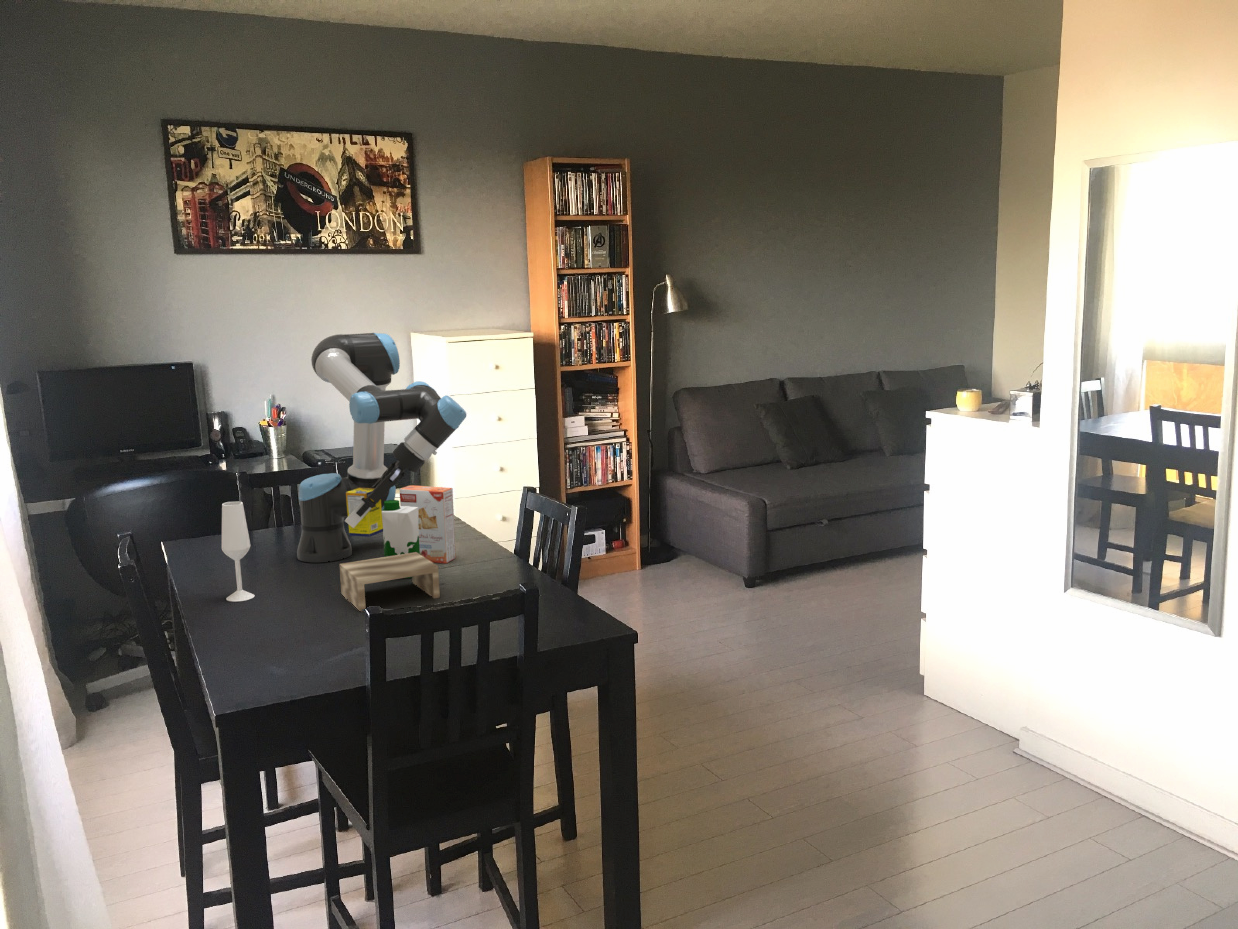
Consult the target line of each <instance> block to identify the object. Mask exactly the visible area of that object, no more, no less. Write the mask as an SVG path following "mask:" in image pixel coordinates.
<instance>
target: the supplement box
mask: <svg viewBox="0 0 1238 929" xmlns="http://www.w3.org/2000/svg"><path fill="white" fill-rule="evenodd" d="M374 489H375V488H357V489H354V490H351V491H348V492H346V501H347V513H348V516H349V515H350V514H351V513H352V512H353V511H354V510H355V509H356V508H357V507H358V505H359V504H360V503H361V502H362V500H361V499H362V498H367V497H368V496H369V494H370V493H371V492H372V491H373V490H374ZM371 500H372V499H371ZM372 501H373V500H372ZM373 502H374V501H373ZM348 533H349V537H351V536H352V537H364V538H371V537H373V536H376V535H378V534H381V533H383V521H382V508H381V499H380V500H379V502H378V503H377V504H376V506H375V507H373V508H372V509H371V510H370V511H369V512H368V513H367V514H366V515H365V516H364V517H363V518H362V519H361V521H360V522H359V523H358V524H357V525H356V526H355V527H354V528H352V527H351V526H350V525H349V524H348Z"/></svg>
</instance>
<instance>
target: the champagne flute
mask: <svg viewBox="0 0 1238 929" xmlns="http://www.w3.org/2000/svg"><path fill="white" fill-rule="evenodd" d="M246 518H247V517H246V512H245V508H244V503H243V502H242V501H227V502H223V503H222V504H221V550H222V552H223V553H224V554H225V555H226V556H227V557H228V558H229V559H231V560H233V561H234V566H235V567H234V569H235V579H236V587H237V588H236V591H234V592H233V593H232V594H230V595H228V596H227V597H226V601H228V602H243V601H248V600H251V599H253V598H254V597H255V594H254V593H251V592H250V591H246V590H244V589H243V582H242V581H243V580H242V571H241V570H242V569H241V559H243V558H244V557H245V556H246V555H247V553H248V552H249V551H250V550H251V541H250V540H251V539H250V535H249V530H248V524H247V519H246Z"/></svg>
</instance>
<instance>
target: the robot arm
mask: <svg viewBox="0 0 1238 929" xmlns="http://www.w3.org/2000/svg"><path fill="white" fill-rule="evenodd" d="M310 361H311V367H312V369H313V371H314V373H315V374H316V376H317V377H318V378H319V379H321V380H322V381H324V382H326V383H330V384H331V386H333V388H335V389H336V390H337V391H338V392H339V393H340V394H341V395H342V396H343V397H344V398H345V399H346V400H347V401H348V402H349V405H348V406H349V413H350V416H351V420H353V444H352V446H353V447H352V448H353V451H352V452H353V453H352V455H353V456H352V460H353V461H352V465H350V466H349V467H348V468H347V476H346V477H342V476H341V475H340V473H336V472H335V473H334V472H331V473H322V474H317V475H314V476H310V477H308V478H306V479H304V480H302V481H301V482H300V483H299V488H298V492H299V493H298V494H299V495H298V500H299V508H300V521H301V524H300V525H301V533H300V534H301V535H300V539H299V542H298V546H297V549H296V556H297V558H296V559H298V561H300V562H304V563H329V562H328V561H330V562H335V561H336V562H337V561H340V560H344V559H346V558H349V557H350V556H352V554H353V551H352V550H353V549H352V548H353V547H352V544H351V542H350V539H349V537H348V534H347V533H346V530H345V524H344V522H345V523H347V524H348V526H349V525H350V526H351V527H352V528H354V527H355V526H356V525H357V524H358V523H359V522H360V521H361V519H362V518H363V517H364V516H365V515H366V514H367V513H368V512H369V511H370V510H371V509H372V508H373V507H375V506H376V504H377V503H378V502H379V500H380V499H381V508H382V510H383V509H384V501H387V500H396V499H395V498H396V493H397V492H396V489H397V488H396V486H395V485H396V484H397V482H398V481H399V480H401V479H403V477H404V476H405V471H406V470H407V469H408V470H409V471H410V472H412V473H417V472H419V470H420V469H421V468H422V467H423V466H424V465H425V462H426V460H429V459H430V458H431V456H432V455H434V456H436V455H437V454H438V452H437V450H438V449H439V448H440V447H441V446H442V445H443V444H444V442H446V441H447V440H448V439H449V438H450V436H451V435H452V434H453V433H454V432H455V431H456V430H457V429H459V427H460V426H461V424H462V423H463V422H464V420H466V418H467V412H466V410H465V409H464V408H463V407H462V406H461V405H460V404H459V403H458V402H457V401H456V400H455V399H454V398H452V397H451V396H449V395H444V396H443V397H441V396H440V395H439V394H438V393H437V391H436V390H435V389H434V388H433V387H432V386H431V385H429V384H428V383H426V382H424V381H414V382H413V383H411V384H408V385H407V386H406V388H405V389H404V388H402V389H388V390H386V388H387V387H388V386H389V385H390V384H391V383H392V375H395V374H398V373H399V372H400V371H399V370H400V366H401V365H400V363H401V362H400V353H399V351H398V346H397V344H396V341H395V340H394V339H393V337H392V336H391V335H390V334H387V333H380V332H379V333H377V332H368V333H365V332H364V333H346V334H345V333H344V334H342V333H341V334H334V335H331V336H328V337H326V338H324V339H322V340H321V341H319V342H318V344H317V345H316V346H315V347H314V350H313V352H312V354H311V360H310ZM407 420H419V421H420V422H419V423H417V425H415V427H413V429H412V430H411V431H410V432H409V433H407V435H406V436H405V437H404V438H403V441H402V442H400V443H399V444H398V445H397V446H396V447H395V448H394V450H393V451H392V454H393V456H394V458H395V459H396V460H397V461H396V460H395V461H394V462H391V463H390V464H389V465H388V467H387V466H386V465H384V460H385V458H384V456H385V454H384V453H385V423H386V422H396V421H407ZM357 488H375V489H374V490H373V491H372V492H371V493H370V494H369V496H368V497H367V498H362V499H361V500H362V502H361V503H360V504H359V505H358V507H357V508H356V509H355V510H354V511H353V512H352V513H351V514H350V515H349V516H348V513H347V501H346V492H348V491H351V490H354V489H357ZM371 499H372V500H373V501H374V502H373V501H372V500H371ZM343 558H344V559H343Z"/></svg>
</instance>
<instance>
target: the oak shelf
mask: <svg viewBox="0 0 1238 929" xmlns="http://www.w3.org/2000/svg"><path fill="white" fill-rule="evenodd" d="M338 567H339V579H340V580H339V581H340V591H341V592H340V593H341V594H342V595H343V596H344V597H345V598H344V597H343V596H342V595H341V594H340V595H341V596H342V597H343V598H344V599H345V600H347V599H348V600H347V601H348V602H349V603H350V602H351V603H352V604H353V605H354V606H355V607H356V608H357V609H358V610H359V611H361V610H362V609H365V608H366V607H367V606H366V597H365V596H366V591H365V585H368V584H369V585H370V584H374V583H380V582H385V581H387V582H388V581H391V580H392V581H393V580H398V579H399V580H400V579H407V578H406V577H411V580H412V581H411V582H413V583H412V584H413V585H415V586H416V585H417V586H416V587H418V588H419V589H421V590H422V591H423V592H424V591H425V594H428V595H429V596H430V597H431V596H432V597H431V598H433V599H438V598H440V574H439V573H440V572H439V565H437V564H436V563H434V562H431V561H429V560H428V559H426V558H425V557H423V556H422V555H420V554H419V553H417V552H414V553H408V554H401V555H394V556H388V557H384V556H383V557H377V558H369V559H362V560H357V561H350V562H343V563H339V566H338ZM351 603H350V604H351ZM352 604H351V605H352ZM353 605H352V606H353ZM354 606H353V607H354ZM355 607H354V608H355ZM356 608H355V609H356ZM357 609H356V610H357ZM358 610H357V611H358ZM359 611H358V612H359ZM361 612H362V611H361Z"/></svg>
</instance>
